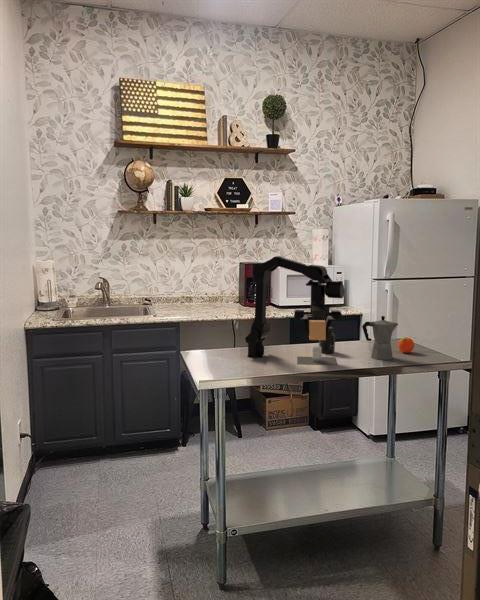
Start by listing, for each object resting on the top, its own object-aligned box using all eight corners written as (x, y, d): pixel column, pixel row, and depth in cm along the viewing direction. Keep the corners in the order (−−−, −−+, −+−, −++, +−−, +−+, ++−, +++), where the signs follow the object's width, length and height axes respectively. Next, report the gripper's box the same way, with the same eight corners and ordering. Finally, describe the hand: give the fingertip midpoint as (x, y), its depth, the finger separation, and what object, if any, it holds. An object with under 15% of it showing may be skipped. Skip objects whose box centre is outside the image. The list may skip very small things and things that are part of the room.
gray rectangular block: (312, 361, 208) (313, 348, 208) (312, 359, 212) (312, 346, 211) (321, 361, 208) (321, 348, 207) (320, 359, 211) (321, 346, 211)
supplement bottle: (334, 356, 222) (335, 329, 221) (318, 355, 224) (319, 328, 222) (334, 353, 229) (335, 326, 228) (319, 352, 230) (319, 326, 229)
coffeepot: (393, 355, 225) (394, 314, 223) (400, 359, 216) (402, 317, 214) (358, 355, 224) (359, 314, 222) (364, 360, 215) (365, 317, 213)
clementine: (406, 355, 224) (406, 339, 223) (393, 352, 230) (393, 337, 229) (417, 353, 229) (418, 337, 228) (404, 350, 234) (404, 335, 234)
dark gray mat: (297, 366, 204) (297, 364, 204) (297, 358, 218) (297, 356, 218) (338, 367, 202) (338, 365, 202) (335, 359, 216) (335, 357, 216)
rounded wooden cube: (309, 339, 206) (309, 322, 205) (308, 336, 212) (309, 320, 211) (325, 340, 205) (325, 322, 204) (324, 337, 212) (324, 320, 211)
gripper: (294, 299, 200) (293, 338, 202) (343, 299, 198) (342, 339, 200) (294, 296, 211) (294, 333, 213) (340, 296, 209) (339, 334, 211)
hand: (317, 335), depth 209 cm, fingers closed on rounded wooden cube, 6 cm apart
